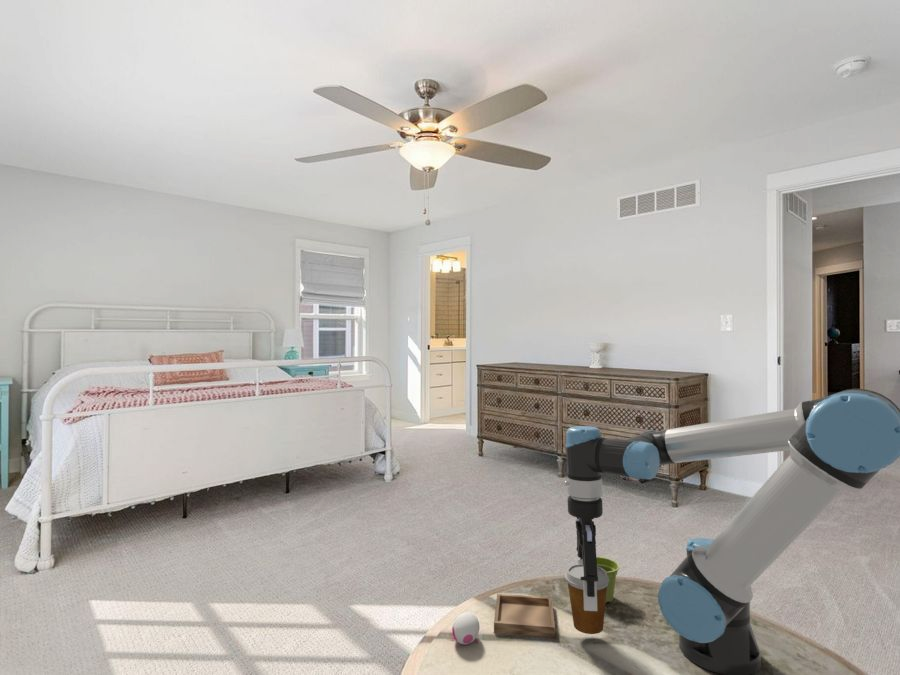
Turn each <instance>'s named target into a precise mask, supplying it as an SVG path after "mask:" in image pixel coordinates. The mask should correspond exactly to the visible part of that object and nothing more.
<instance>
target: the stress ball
mask: <svg viewBox="0 0 900 675" xmlns="http://www.w3.org/2000/svg"><path fill="white" fill-rule="evenodd" d="M480 626H481V625H480V622H479V619H478V617H477V616H476V615H475V614H474V613H472V612H469V611H465V612H462V613H460V614H459V615H458V616H456V618H455V619H454V621H453V623H452V628H451V629H452V636H453V639H454V640H455V641H456V642H457V643H459V644H461V645H469V644H471V643H473V642H474V641H475V642H476V644H478V643H479V641H478V640H477V638H478V635H479V633H480ZM447 639H448V640H449V638H447Z"/></svg>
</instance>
